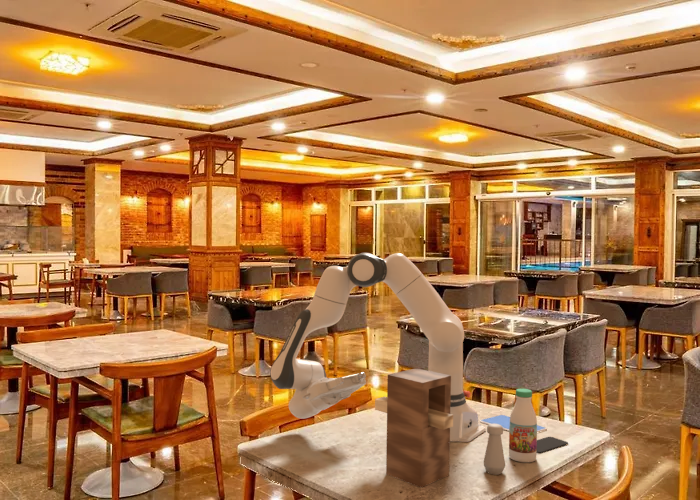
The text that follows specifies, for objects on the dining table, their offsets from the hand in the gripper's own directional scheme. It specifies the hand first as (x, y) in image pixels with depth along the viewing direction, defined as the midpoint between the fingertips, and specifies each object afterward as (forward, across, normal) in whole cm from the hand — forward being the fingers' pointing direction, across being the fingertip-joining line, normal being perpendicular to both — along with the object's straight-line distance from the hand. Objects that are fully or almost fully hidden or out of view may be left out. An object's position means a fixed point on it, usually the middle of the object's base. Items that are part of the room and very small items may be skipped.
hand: (352, 377), depth 184 cm
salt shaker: (+22, +16, +39) cm, 47 cm away
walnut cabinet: (+11, 0, +32) cm, 33 cm away
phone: (+21, +46, +39) cm, 64 cm away
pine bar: (+16, 0, +18) cm, 24 cm away
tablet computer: (+6, +56, +30) cm, 64 cm away
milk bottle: (+22, +32, +39) cm, 55 cm away
